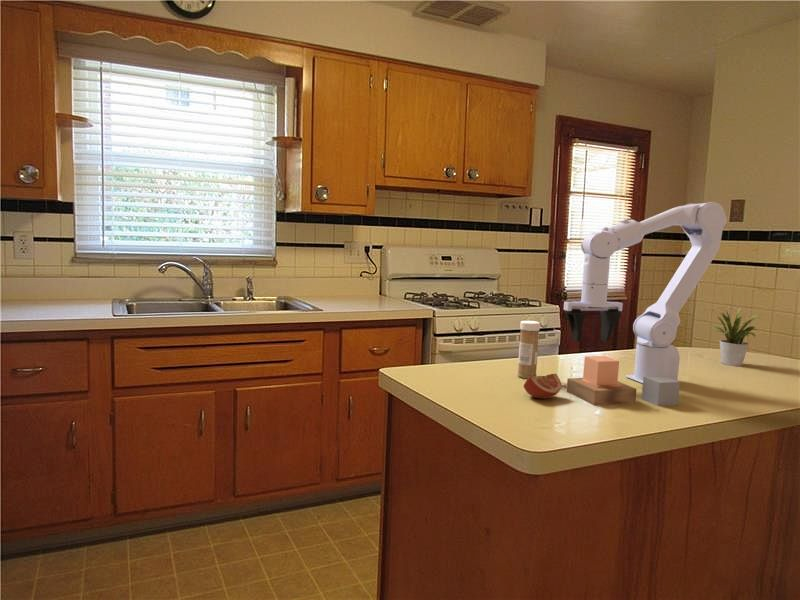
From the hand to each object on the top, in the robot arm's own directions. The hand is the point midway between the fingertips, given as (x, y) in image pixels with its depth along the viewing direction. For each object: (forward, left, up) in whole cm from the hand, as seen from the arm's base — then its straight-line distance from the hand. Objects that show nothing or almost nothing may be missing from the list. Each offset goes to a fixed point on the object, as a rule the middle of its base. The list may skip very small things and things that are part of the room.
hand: (590, 340), depth 139 cm
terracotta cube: (+6, +14, -6) cm, 16 cm away
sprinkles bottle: (+14, -4, -10) cm, 17 cm away
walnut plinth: (+6, +14, -10) cm, 18 cm away
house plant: (-52, -12, -10) cm, 54 cm away
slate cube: (-5, +19, -10) cm, 22 cm away
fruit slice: (+19, +13, -10) cm, 25 cm away
